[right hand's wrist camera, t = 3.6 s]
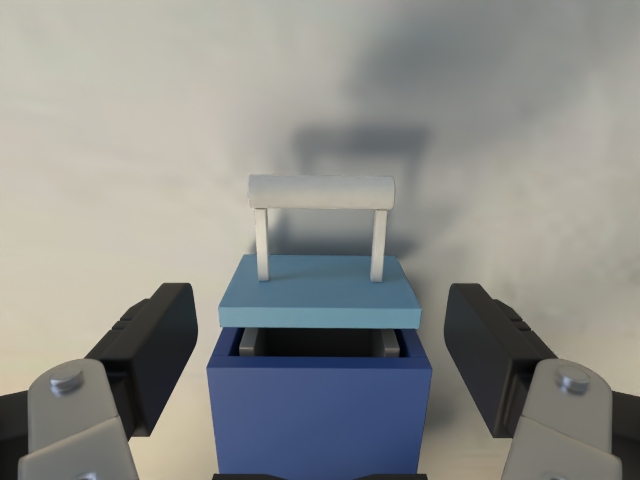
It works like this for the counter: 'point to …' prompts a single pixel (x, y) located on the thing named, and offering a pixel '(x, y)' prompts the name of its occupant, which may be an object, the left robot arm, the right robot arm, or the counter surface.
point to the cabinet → (318, 411)
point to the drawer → (320, 279)
